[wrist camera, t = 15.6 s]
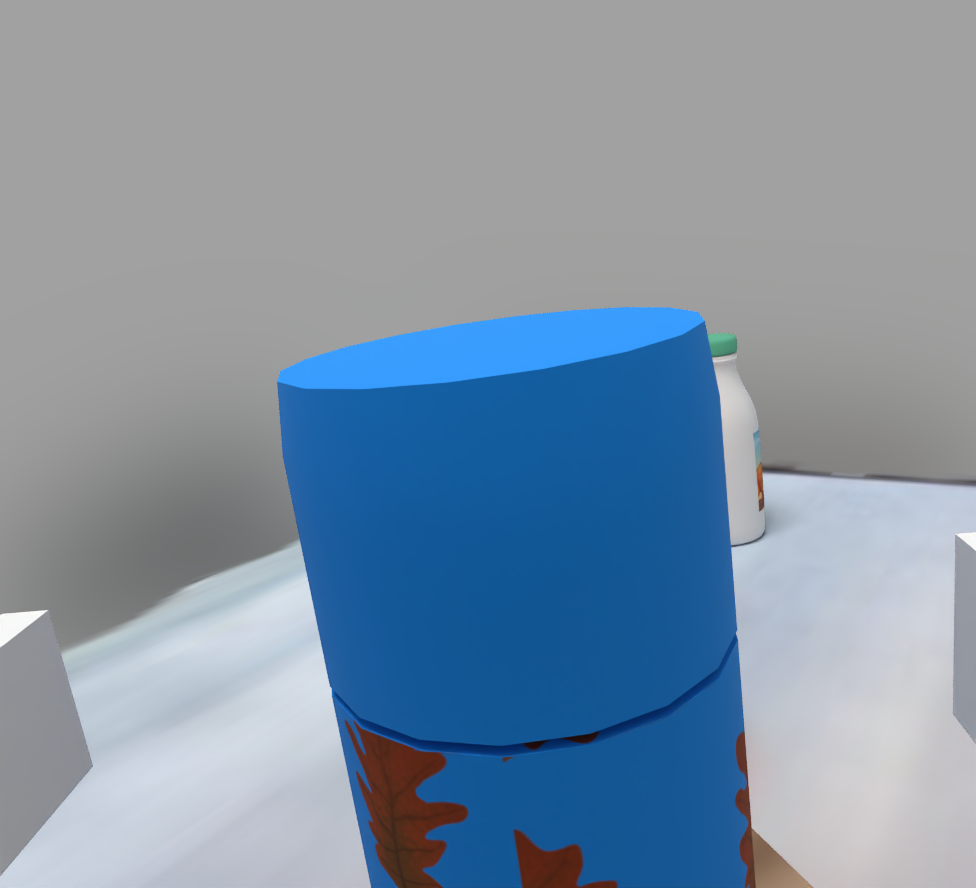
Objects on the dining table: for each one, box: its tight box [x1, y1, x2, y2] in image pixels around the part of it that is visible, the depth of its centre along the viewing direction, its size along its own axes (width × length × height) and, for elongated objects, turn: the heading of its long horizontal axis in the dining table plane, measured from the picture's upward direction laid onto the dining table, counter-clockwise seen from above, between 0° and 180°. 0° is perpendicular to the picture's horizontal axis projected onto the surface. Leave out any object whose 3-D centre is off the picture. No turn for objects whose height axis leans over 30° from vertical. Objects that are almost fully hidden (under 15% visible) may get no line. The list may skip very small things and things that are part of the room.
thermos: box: [277, 307, 756, 888], centre depth 24 cm, size 11×11×25 cm
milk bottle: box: [707, 333, 765, 545], centre depth 83 cm, size 8×8×20 cm
